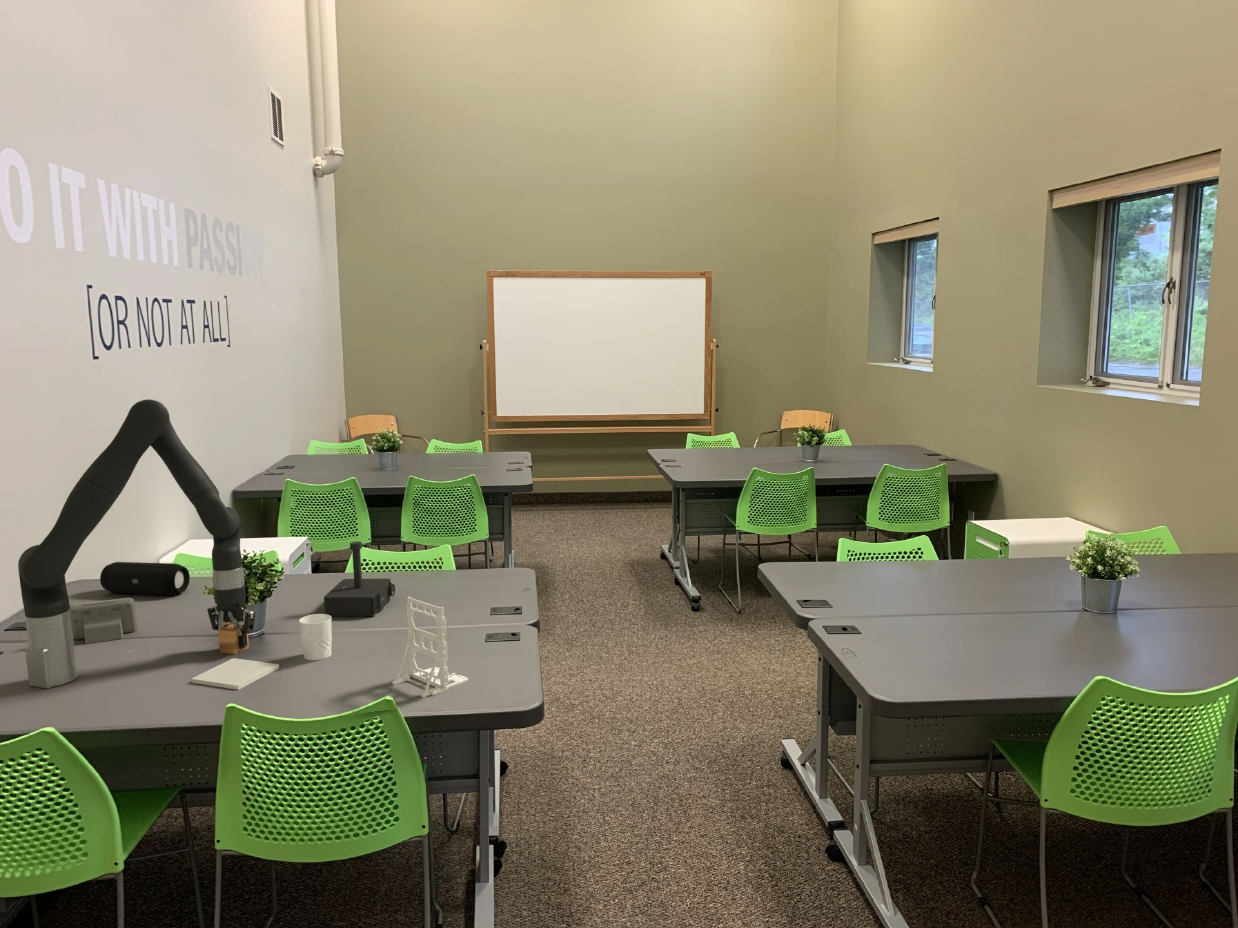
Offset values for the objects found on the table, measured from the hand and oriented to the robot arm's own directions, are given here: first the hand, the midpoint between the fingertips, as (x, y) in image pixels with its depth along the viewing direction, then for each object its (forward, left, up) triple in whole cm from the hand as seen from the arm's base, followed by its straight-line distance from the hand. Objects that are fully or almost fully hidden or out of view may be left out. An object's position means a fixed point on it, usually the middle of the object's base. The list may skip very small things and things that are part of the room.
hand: (234, 646), depth 243 cm
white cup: (+3, -24, -1) cm, 24 cm away
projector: (+41, -11, -1) cm, 42 cm away
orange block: (0, 0, -1) cm, 1 cm away
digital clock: (-3, +42, -1) cm, 42 cm away
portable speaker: (+33, +64, -1) cm, 72 cm away
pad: (-14, -13, -1) cm, 19 cm away
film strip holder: (-3, -61, -1) cm, 61 cm away
